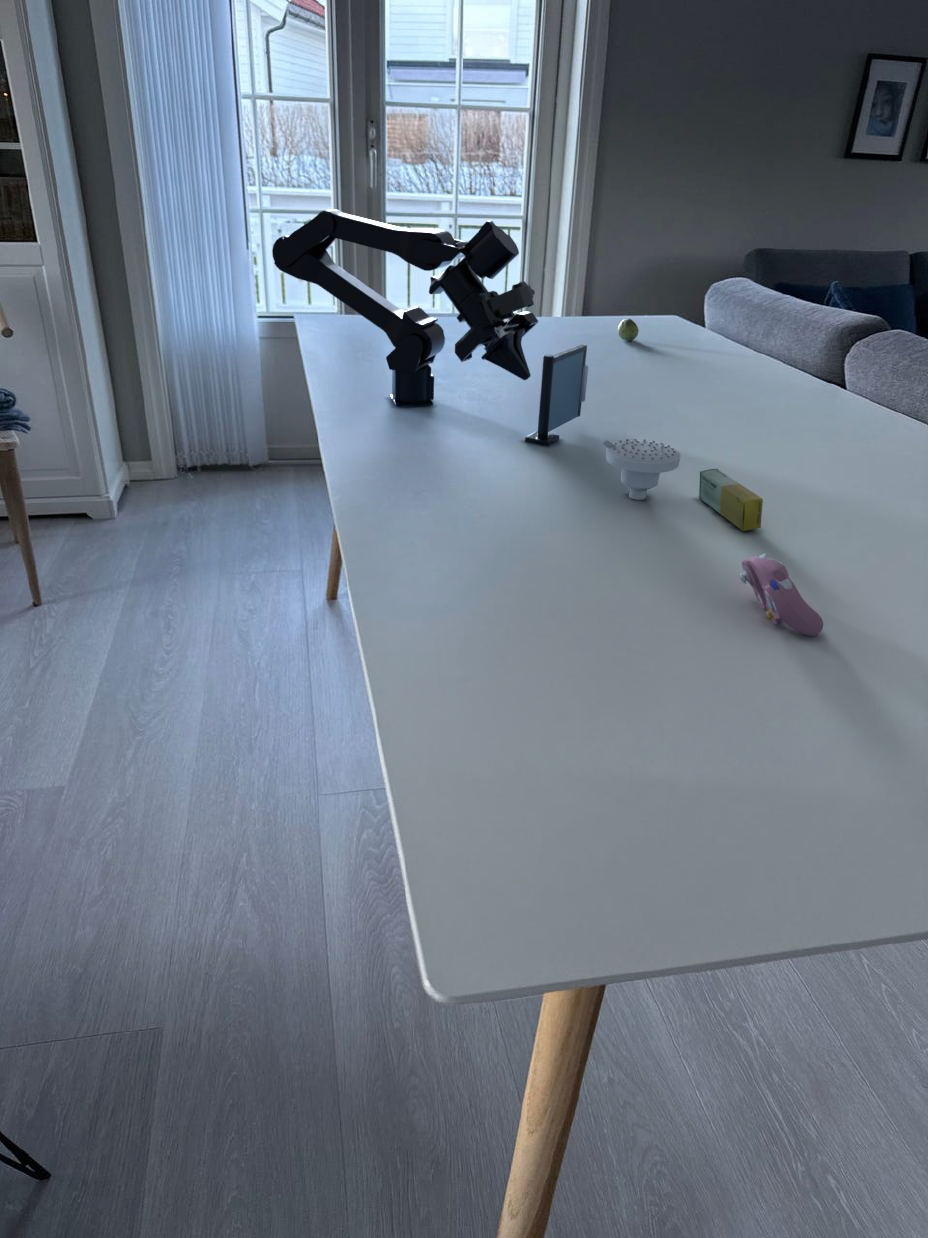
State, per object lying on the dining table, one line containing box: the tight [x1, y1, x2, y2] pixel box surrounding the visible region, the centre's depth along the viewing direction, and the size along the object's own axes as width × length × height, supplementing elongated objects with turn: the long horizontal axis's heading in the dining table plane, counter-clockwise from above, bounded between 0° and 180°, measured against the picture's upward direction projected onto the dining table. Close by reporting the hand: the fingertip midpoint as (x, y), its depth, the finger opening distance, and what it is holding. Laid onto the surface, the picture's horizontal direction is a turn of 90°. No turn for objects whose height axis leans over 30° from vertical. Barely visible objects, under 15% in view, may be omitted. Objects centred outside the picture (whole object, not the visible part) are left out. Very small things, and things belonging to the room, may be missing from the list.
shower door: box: [548, 344, 589, 433], centre depth 141 cm, size 2×12×11 cm, turn 150°
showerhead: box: [602, 438, 681, 501], centre depth 117 cm, size 9×7×10 cm
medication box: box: [698, 468, 764, 532], centre depth 113 cm, size 12×3×4 cm, turn 13°
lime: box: [617, 318, 639, 342], centre depth 212 cm, size 4×5×5 cm
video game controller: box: [739, 552, 824, 637], centre depth 89 cm, size 10×5×7 cm, turn 5°
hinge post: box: [524, 354, 560, 448], centre depth 136 cm, size 4×4×13 cm
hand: (527, 378), depth 145 cm, fingers closed
